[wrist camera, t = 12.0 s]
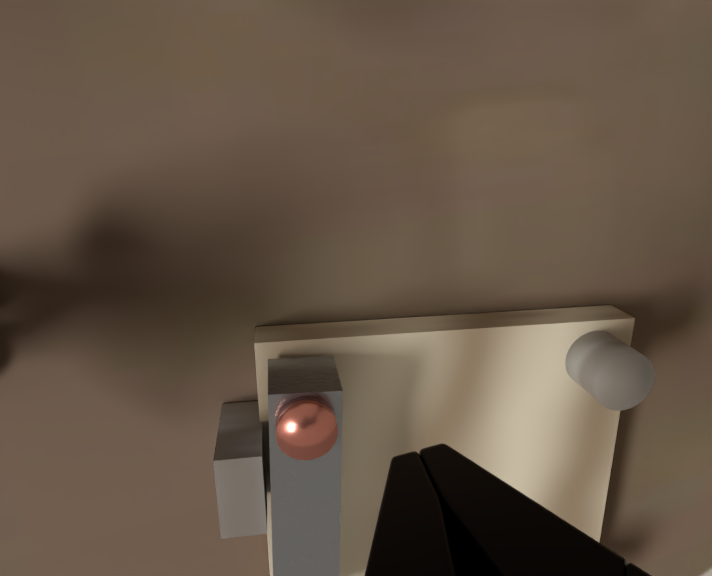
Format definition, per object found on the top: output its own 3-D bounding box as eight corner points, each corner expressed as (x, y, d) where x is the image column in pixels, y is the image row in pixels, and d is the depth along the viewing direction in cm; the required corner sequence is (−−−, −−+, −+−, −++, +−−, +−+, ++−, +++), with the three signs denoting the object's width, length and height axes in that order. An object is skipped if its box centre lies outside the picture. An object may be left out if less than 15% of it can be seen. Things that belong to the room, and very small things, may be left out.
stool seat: (611, 305, 22) (674, 340, 18) (571, 582, 26) (616, 652, 23) (215, 329, 20) (204, 374, 16) (242, 627, 24) (238, 713, 20)
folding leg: (267, 358, 18) (268, 405, 15) (333, 356, 19) (345, 400, 16) (274, 593, 21) (275, 670, 18) (330, 587, 22) (340, 661, 19)
